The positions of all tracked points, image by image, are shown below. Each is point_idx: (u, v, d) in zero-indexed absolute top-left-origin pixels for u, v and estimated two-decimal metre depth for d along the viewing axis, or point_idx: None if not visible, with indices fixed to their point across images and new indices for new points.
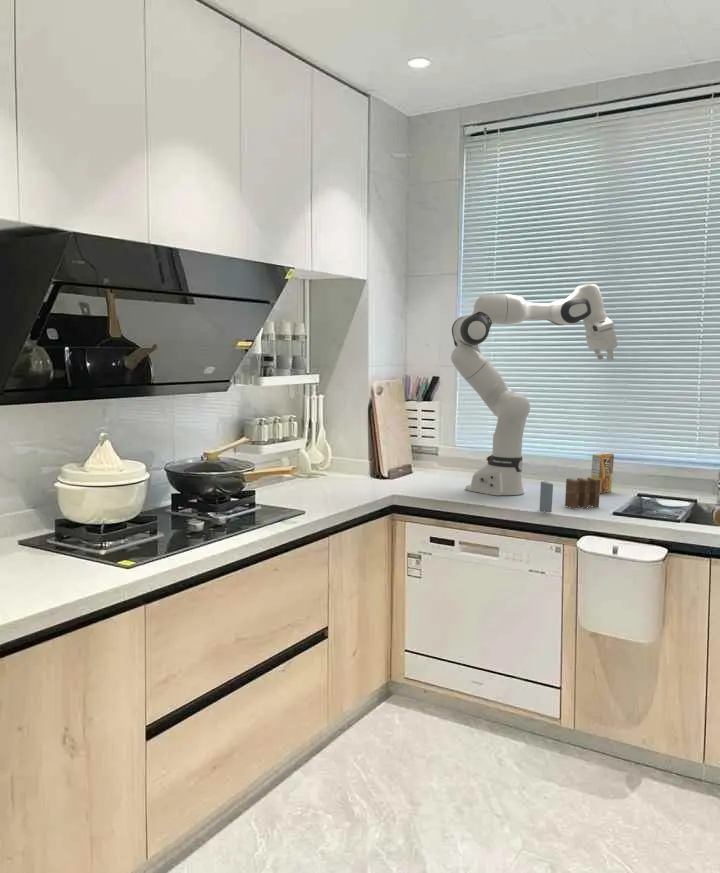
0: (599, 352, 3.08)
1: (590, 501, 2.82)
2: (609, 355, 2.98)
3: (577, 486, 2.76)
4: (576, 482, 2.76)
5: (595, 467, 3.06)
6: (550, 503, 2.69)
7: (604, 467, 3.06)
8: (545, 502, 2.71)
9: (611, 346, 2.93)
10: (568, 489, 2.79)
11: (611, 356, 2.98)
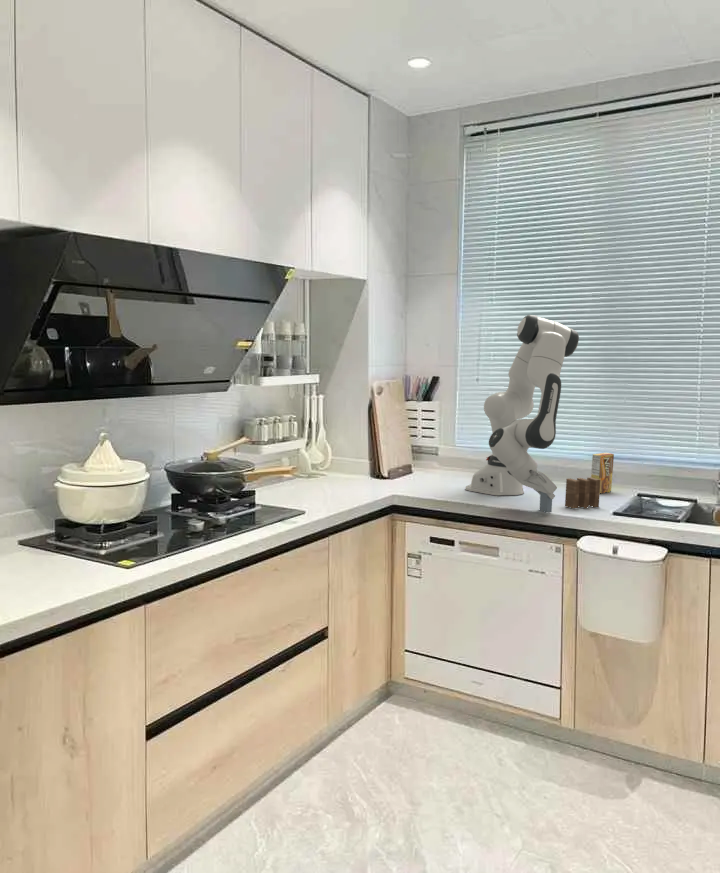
0: None
1: (590, 501, 2.82)
2: None
3: (577, 486, 2.76)
4: (576, 482, 2.76)
5: (595, 467, 3.06)
6: (550, 503, 2.69)
7: (604, 467, 3.06)
8: (545, 502, 2.71)
9: None
10: (568, 489, 2.79)
11: None
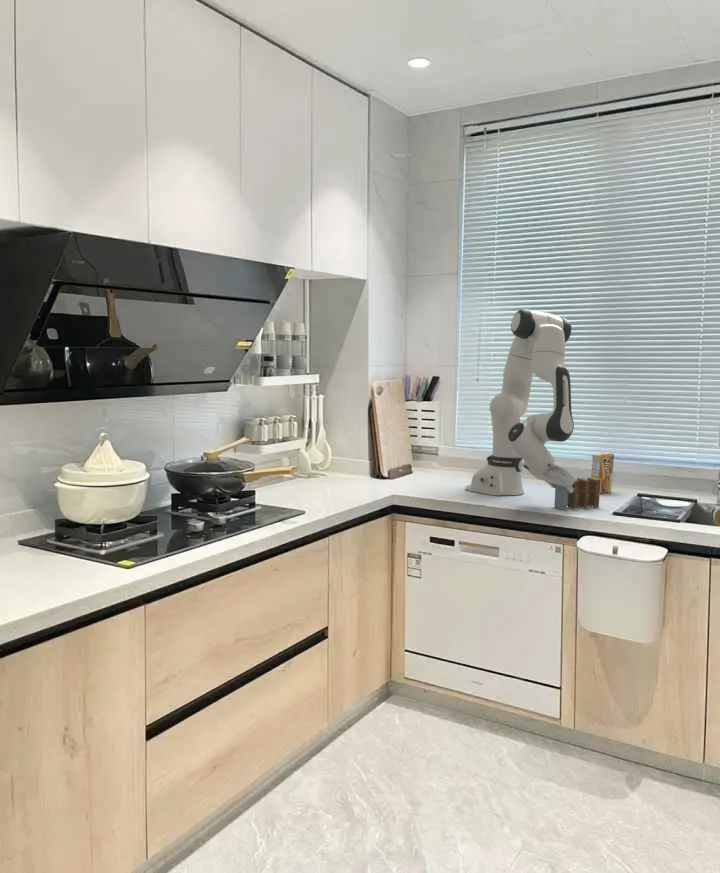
0: None
1: (590, 501, 2.82)
2: None
3: (577, 486, 2.76)
4: (576, 482, 2.76)
5: (595, 467, 3.06)
6: (566, 500, 2.75)
7: (604, 467, 3.06)
8: (560, 499, 2.76)
9: None
10: None
11: None
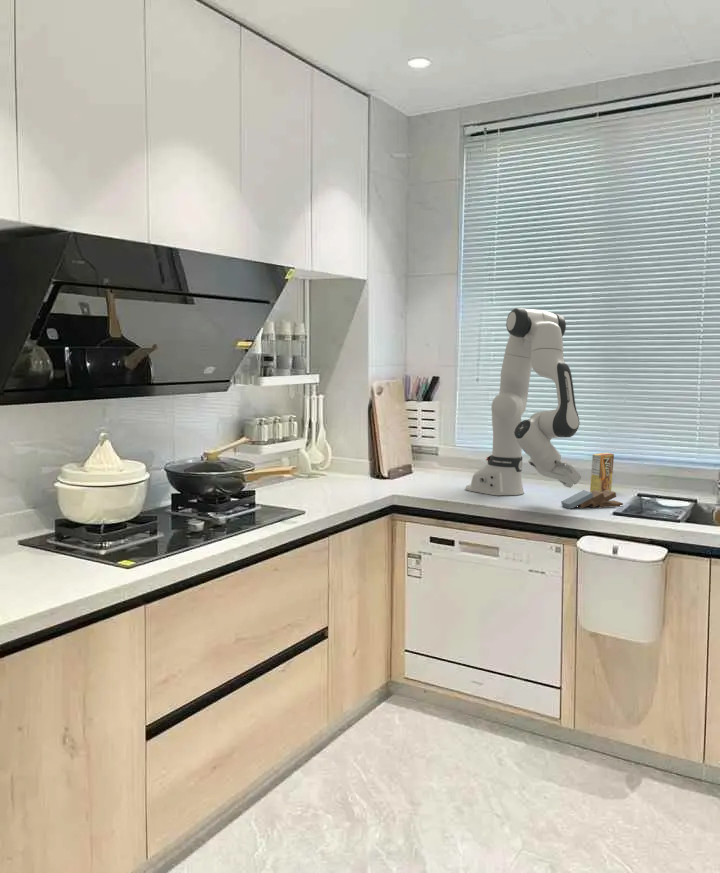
0: None
1: None
2: None
3: (599, 497, 2.80)
4: (602, 494, 2.80)
5: (595, 467, 3.06)
6: (577, 503, 2.77)
7: (604, 467, 3.06)
8: (574, 499, 2.79)
9: None
10: None
11: None
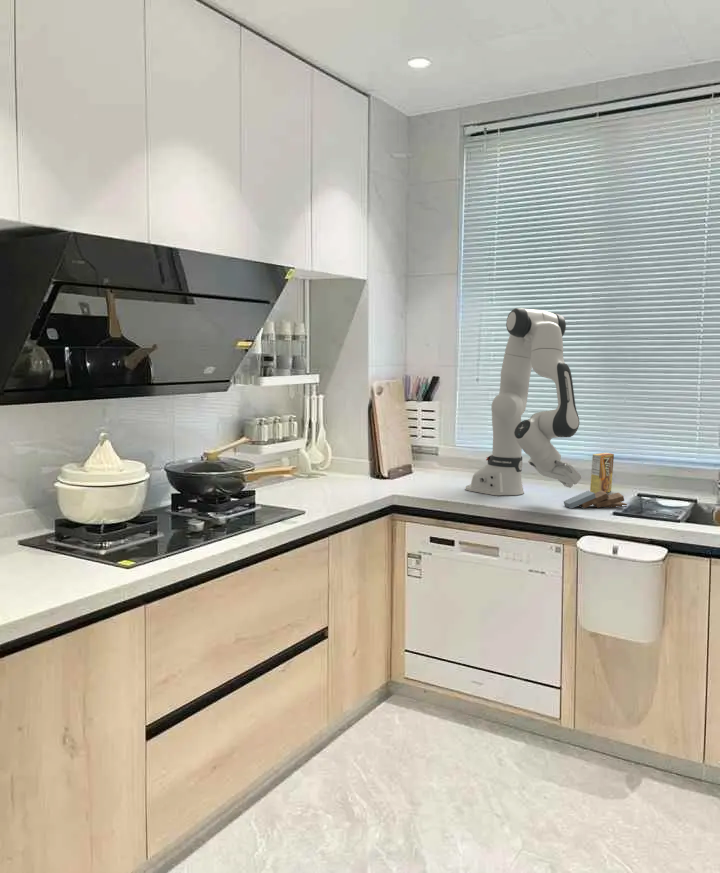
0: None
1: None
2: None
3: (603, 498, 2.79)
4: (606, 495, 2.79)
5: (595, 467, 3.06)
6: (578, 503, 2.78)
7: (604, 467, 3.06)
8: (575, 499, 2.79)
9: None
10: None
11: None
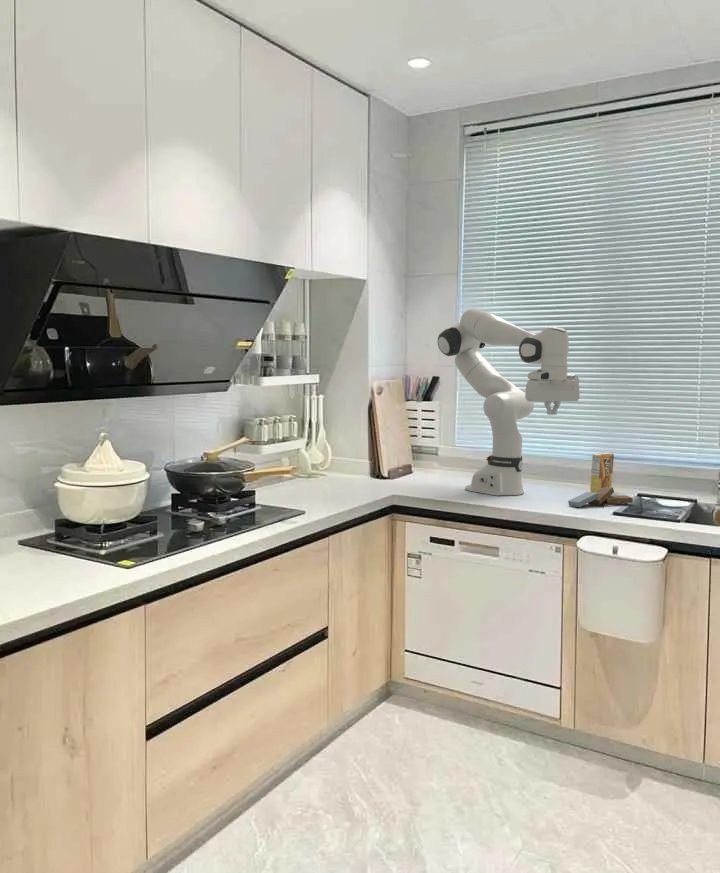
0: (556, 407, 2.72)
1: (603, 502, 2.86)
2: (547, 408, 2.72)
3: (610, 492, 2.86)
4: (612, 489, 2.87)
5: (595, 467, 3.06)
6: (585, 502, 2.80)
7: (604, 467, 3.07)
8: (581, 498, 2.81)
9: (526, 398, 2.68)
10: (599, 492, 2.88)
11: (548, 410, 2.71)
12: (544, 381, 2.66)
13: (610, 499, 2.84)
